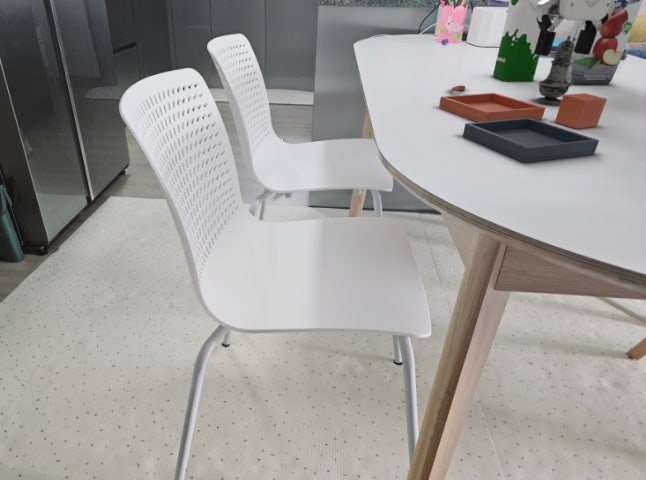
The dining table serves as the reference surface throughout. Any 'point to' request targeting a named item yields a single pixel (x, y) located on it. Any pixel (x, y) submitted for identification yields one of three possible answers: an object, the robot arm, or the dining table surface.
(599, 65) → the juice carton
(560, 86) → the carved stone statue
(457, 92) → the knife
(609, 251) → the dining table surface
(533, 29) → the soya milk
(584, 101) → the terracotta block
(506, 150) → the slate tray
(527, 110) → the terracotta tray
